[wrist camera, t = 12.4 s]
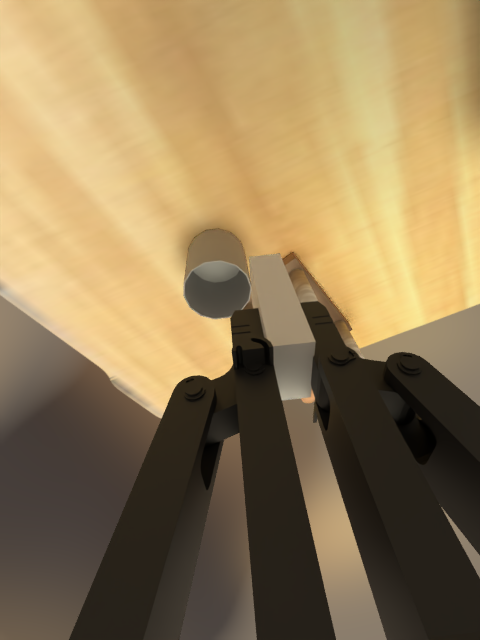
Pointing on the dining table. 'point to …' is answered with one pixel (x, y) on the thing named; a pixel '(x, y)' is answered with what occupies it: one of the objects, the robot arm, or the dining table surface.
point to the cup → (216, 275)
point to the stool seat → (315, 298)
